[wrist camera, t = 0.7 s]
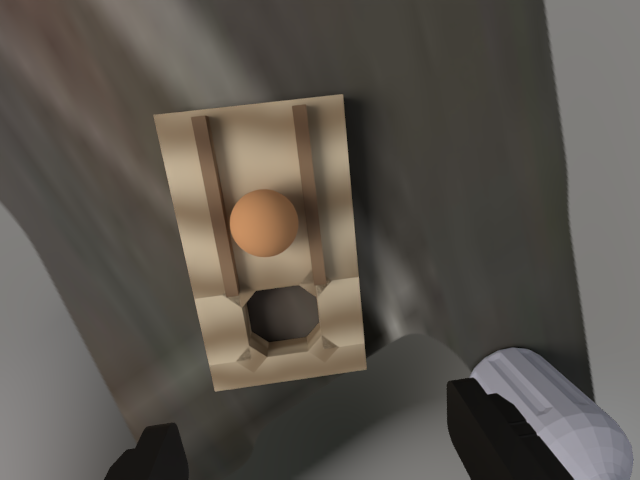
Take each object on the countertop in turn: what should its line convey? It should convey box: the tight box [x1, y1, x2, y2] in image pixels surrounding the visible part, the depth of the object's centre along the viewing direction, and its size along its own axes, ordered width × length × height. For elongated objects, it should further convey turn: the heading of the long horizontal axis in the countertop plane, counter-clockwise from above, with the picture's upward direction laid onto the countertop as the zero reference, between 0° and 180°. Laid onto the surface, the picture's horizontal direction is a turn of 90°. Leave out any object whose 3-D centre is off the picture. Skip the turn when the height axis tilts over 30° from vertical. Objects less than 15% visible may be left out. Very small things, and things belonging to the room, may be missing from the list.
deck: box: [154, 94, 367, 391], centre depth 31 cm, size 24×14×4 cm, turn 6°
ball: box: [230, 189, 299, 257], centre depth 27 cm, size 5×5×5 cm
